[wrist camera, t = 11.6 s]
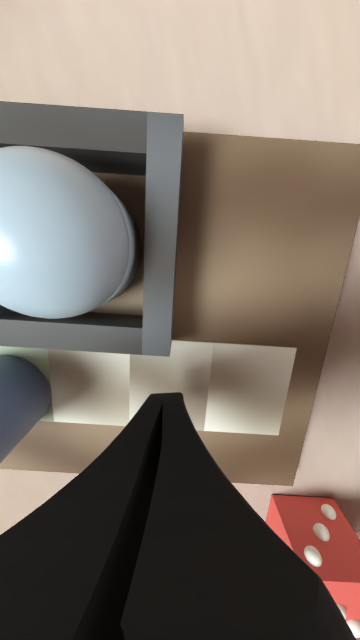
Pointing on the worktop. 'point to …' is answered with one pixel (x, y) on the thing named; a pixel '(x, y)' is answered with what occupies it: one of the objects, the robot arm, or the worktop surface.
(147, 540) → the robot arm
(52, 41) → the worktop surface
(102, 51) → the worktop surface
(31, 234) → the dome button
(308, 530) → the red die
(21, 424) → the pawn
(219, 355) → the game board
